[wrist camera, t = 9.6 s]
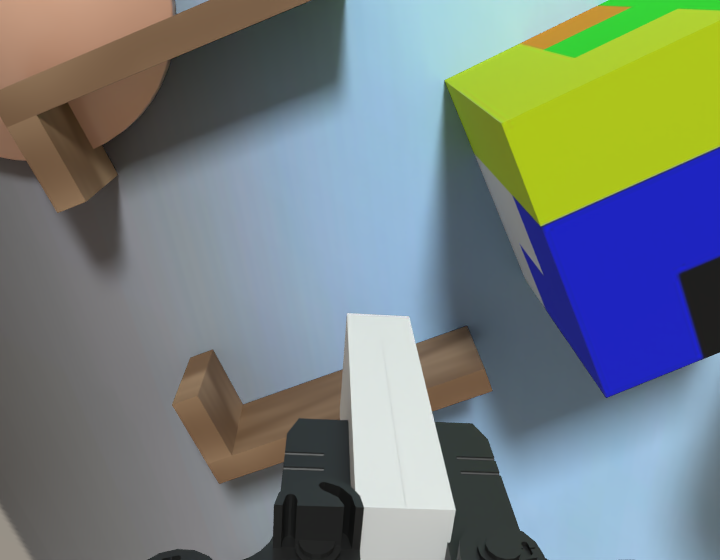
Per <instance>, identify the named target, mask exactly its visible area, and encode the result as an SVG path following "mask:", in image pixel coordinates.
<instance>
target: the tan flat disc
mask: <svg viewBox="0 0 720 560" xmlns="http://www.w3.org/2000/svg"><path fill="white" fill-rule="evenodd" d="M174 15H176V5H175V0H0V89H3V88H5V87H7V86H10V85H12V84H14V83H17V82H19V81H21V80H24V79H26V78H28V77H31V76H33V75H35V74H38V73H40V72H43V71H45V70H47V69H50V68H52V67H54V66H57V65H59V64H61V63H64V62H66V61H68V60H71V59H73V58H75V57H78V56H80V55H82V54H85V53H87V52H89V51H92V50H94V49H96V48H99V47H101V46H104V45H106V44H108V43H111V42H113V41H115V40H118V39H120V38H122V37H125V36H127V35H129V34H132V33H134V32H136V31H139V30H141V29H143V28H146V27H148V26H150V25H153V24H155V23H157V22H160V21H162V20H165V19H167V18H169V17H172V16H174ZM170 60H171V59H170ZM170 60H168V61H165V62H163V63H160V64H158V65H156V66H153V67H151V68H149V69H146V70H144V71H141V72H139V73H137V74H134V75H132V76H129V77H127V78H125V79H122V80H120V81H117V82H115V83H113V84H110V85H108V86H106V87H103V88H101V89H98V90H96V91H94V92H91V93H89V94H86V95H84V96H82V97H79V98H77V99H74V100H72V101H70V102H68V104H69V106H70V108H71V109H72V111H73V113H74V115H75V117H76V119H77V120H78V122H79V124H80V126H81V128H82V129H83V131H84V133H85V135H86V137H87V139H88V140H89V142H90V144H91V146H92V148H93V149H95V148H97V147H99V146H101V145H103V144H105V143H107V142H108V141H110V140H111V139H113V138H114V137H116V136H117V135H118V134H120V133H121V132H123V131H124V130H126V129H127V128H128V127H129V126H130V125H132V124H133V123H134V122H135V121H136V120H137V119H138V118H139V117H140V116H141V115H142V114H143V112H144V111H145V110H146V109H147V107H148V106H149V105H150V104H151V102H152V101H153V99H154V97H155V96H156V94H157V92H158V91H159V89H160V87H161V85H162V83H163V80H164V78H165V75H166V73H167V70H168V68H169V64H170ZM0 157H2V158H7V159H12V160H23V161H26V159H25V158H24V156H23V154H22V153H21V151H20V149H19V147H18V146H17V144H16V142H15V141H14V139H13V137H12V136H11V134H10V132H9V131H8V129H7V127H6V126H5V124H4V122H3V121H2V119H1V117H0Z"/></svg>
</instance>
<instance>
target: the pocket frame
mask: <svg viewBox="0 0 720 560" xmlns="http://www.w3.org/2000/svg"><path fill="white" fill-rule="evenodd" d="M309 1H311V0H209V1H207V2H204V3H202V4H200V5H197V6H195V7H193V8H190V9H188V10H186V11H183V12H181V13H179V14H176V15H174V16H172V17H169V18H167V19H165V20H162V21H160V22H157V23H155V24H153V25H150V26H148V27H146V28H143V29H141V30H139V31H136V32H134V33H132V34H129V35H127V36H125V37H122V38H120V39H118V40H115V41H113V42H111V43H108V44H106V45H104V46H101V47H99V48H96V49H94V50H92V51H89V52H87V53H85V54H82V55H80V56H78V57H75V58H73V59H71V60H68V61H66V62H64V63H61V64H59V65H57V66H54V67H52V68H50V69H47V70H45V71H43V72H40V73H38V74H35V75H33V76H31V77H28V78H26V79H24V80H21V81H19V82H17V83H14V84H12V85H10V86H7V87H5V88H3V89H0V117H1V119H2V121H3V122H4V124H5V126H6V127H7V129H8V131H9V132H10V134H11V136H12V137H13V139H14V141H15V142H16V144H17V146H18V147H19V149H20V151H21V153H22V154H23V156H24V158H25V159H26V161H27V163H28V164H29V166H30V168H31V169H32V171H33V173H34V174H35V176H36V178H37V179H38V181H39V183H40V184H41V186H42V188H43V189H44V191H45V193H46V194H47V196H48V198H49V199H50V201H51V203H52V204H53V206H54V208H55V210H56V211H57V213H59V212H61V211H64V210H66V209H69V208H71V207H74V206H76V205H79V204H81V203H84V202H86V201H87V200H89V199H90V198H91V197H92V196H93V195H95V194H96V193H97V192H98V191H99V190H101V189H102V188H103V187H104V186H105V185H106V184H108V183H109V182H110V181H111V180H112V179H114V178H115V177H116V176H117V175H118V174H117V172H116V170H115V168H114V167H113V165H112V163H111V161H110V159H109V157H108V156H107V154H106V152H105V150H104V148H103V146H102V145H101V146H99V147H97V148H95V149H93V148H92V146H91V144H90V142H89V140H88V139H87V137H86V135H85V133H84V131H83V129H82V128H81V126H80V124H79V122H78V120H77V119H76V117H75V115H74V113H73V111H72V109H71V108H70V106H69V104H68V102H70V101H72V100H74V99H77V98H79V97H82V96H84V95H86V94H89V93H91V92H94V91H96V90H98V89H101V88H103V87H106V86H108V85H110V84H113V83H115V82H117V81H120V80H122V79H125V78H127V77H129V76H132V75H134V74H137V73H139V72H141V71H144V70H146V69H149V68H151V67H153V66H156V65H158V64H160V63H163V62H165V61H168V60H170V59H173V58H175V57H177V56H180V55H182V54H185V53H187V52H189V51H192V50H194V49H197V48H199V47H201V46H204V45H206V44H208V43H211V42H213V41H216V40H218V39H220V38H223V37H225V36H228V35H230V34H232V33H235V32H237V31H240V30H242V29H244V28H247V27H249V26H251V25H254V24H256V23H259V22H261V21H263V20H266V19H268V18H271V17H273V16H275V15H278V14H280V13H283V12H285V11H287V10H290V9H292V8H294V7H297V6H299V5H302V4H304V3H306V2H309ZM416 347H417V351H418V356H419V360H420V364H421V368H422V372H423V376H424V381H425V385H426V389H427V393H428V397H429V401H430V405H431V410H432V411H435V410H438V409H441V408H444V407H447V406H450V405H453V404H456V403H459V402H462V401H465V400H468V399H471V398H473V397H476V396H479V395H482V394H485V393H488V392H491V391H492V388H491V385H490V382H489V380H488V377H487V374H486V371H485V368H484V366H483V363H482V361H481V359H480V356H479V354H478V351H477V349H476V346H475V344H474V342H473V339H472V337H471V334H470V332H469V329H468V327H467V326H465V327H462V328H459V329H456V330H453V331H451V332H448V333H445V334H442V335H439V336H436V337H434V338H431V339H428V340H425V341H422V342H419V343H417V344H416ZM342 374H343V370H340V371H337V372H334V373H331V374H329V375H326V376H323V377H320V378H317V379H314V380H311V381H309V382H306V383H303V384H300V385H297V386H294V387H292V388H289V389H286V390H283V391H280V392H277V393H275V394H272V395H269V396H266V397H263V398H260V399H258V400H255V401H252V402H249V403H246V404H242V402H241V400H240V398H239V396H238V395H237V393H236V391H235V389H234V387H233V385H232V384H231V382H230V380H229V378H228V376H227V374H226V373H225V371H224V369H223V367H222V365H221V363H220V362H219V360H218V358H217V356H216V354H215V352H214V351H213V350H210V351H207V352H205V353H202V354H199V355H196V356H194V357H191V358H190V360H189V362H188V365H187V368H186V370H185V373H184V375H183V378H182V380H181V383H180V386H179V388H178V391H177V393H176V396H175V398H174V401H173V404H172V406H173V407H174V409H175V411H176V412H177V414H178V416H179V417H180V419H181V421H182V422H183V424H184V426H185V427H186V429H187V431H188V432H189V434H190V436H191V437H192V439H193V441H194V443H195V444H196V446H197V448H198V449H199V451H200V453H201V454H202V456H203V458H204V459H205V461H206V463H207V464H208V466H209V468H210V469H211V471H212V473H213V474H214V476H215V478H216V479H217V481H218V483H219V484H220V483H223V482H226V481H229V480H232V479H235V478H238V477H241V476H244V475H247V474H250V473H253V472H256V471H259V470H261V469H264V468H267V467H270V466H273V465H276V464H279V463H282V462H284V456H285V447H286V437H287V433H288V431H289V430H290V429H291V428H292V426H293V425H294V424H295V423H296V421H297V420H298V419H299V418H305V419H330V420H340V401H341V388H342Z"/></svg>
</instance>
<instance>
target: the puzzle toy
mask: <svg viewBox="0 0 720 560" xmlns="http://www.w3.org/2000/svg"><path fill="white" fill-rule="evenodd" d="M444 81H445V83H446V86H447V88H448V91H449V93H450V96H451V98H452V100H453V103H454V105H455V108H456V110H457V113H458V115H459V118H460V120H461V123H462V125H463V127H464V130H465V132H466V135H467V137H468V140H469V142H470V145H471V147H472V150H473V152H474V155H475V157H476V159H477V162H478V164H479V167H480V169H481V172H482V174H483V177H484V179H485V182H486V184H487V187H488V189H489V191H490V194H491V196H492V199H493V201H494V204H495V206H496V209H497V211H498V214H499V216H500V219H501V221H502V223H503V226H504V228H505V231H506V233H507V236H508V238H509V241H510V243H511V246H512V248H513V251H514V253H515V255H516V258H517V260H518V263H519V265H520V268H521V270H522V273H523V275H524V278H525V280H526V281H527V283H528V284H529V286H530V287H531V289H532V290H533V292H534V293H535V295H536V296H537V297H538V299H539V300H540V302H541V303H542V305H543V306H544V308H545V309H546V311H547V312H548V314H549V315H550V316H551V318H552V319H553V321H554V322H555V324H556V325H557V327H558V328H559V330H560V331H561V333H562V334H563V336H564V337H565V338H566V340H567V341H568V343H569V344H570V346H571V347H572V349H573V350H574V352H575V353H576V355H577V356H578V357H579V359H580V360H581V362H582V363H583V365H584V366H585V368H586V369H587V371H588V372H589V374H590V375H591V377H592V378H593V379H594V381H595V382H596V384H597V385H598V387H599V388H600V390H601V391H602V393H603V394H604V396H605V397H606V398H608V397H610V396H612V395H615V394H617V393H620V392H622V391H625V390H627V389H630V388H632V387H635V386H637V385H640V384H642V383H645V382H647V381H650V380H652V379H655V378H657V377H660V376H662V375H665V374H667V373H670V372H672V371H675V370H677V369H680V368H682V367H685V366H687V365H690V364H692V363H695V362H697V361H699V360H702V359H704V358H707V357H709V356H712V355H714V354H717V353H719V352H720V0H608V1H606V2H604V3H602V4H600V5H598V6H596V7H594V8H592V9H590V10H588V11H586V12H584V13H582V14H580V15H578V16H575V17H573V18H571V19H569V20H567V21H565V22H563V23H561V24H559V25H557V26H555V27H553V28H551V29H549V30H547V31H545V32H543V33H541V34H539V35H537V36H534V37H532V38H530V39H528V40H526V41H524V42H522V43H520V44H518V45H516V46H514V47H512V48H510V49H508V50H506V51H504V52H502V53H500V54H498V55H496V56H493V57H491V58H489V59H487V60H485V61H483V62H481V63H479V64H477V65H475V66H473V67H471V68H469V69H467V70H465V71H463V72H461V73H459V74H457V75H455V76H452V77H450V78H448V79H446V80H444Z"/></svg>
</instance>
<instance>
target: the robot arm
mask: <svg viewBox="0 0 720 560" xmlns="http://www.w3.org/2000/svg"><path fill="white" fill-rule="evenodd" d="M148 560H212V559H211V558H210V557H209V556H207V555H205V554H202V553H200V552H198V551H195V550H182V549H176V550H172V551H167V552H163V553H159V554H157V555H155V556H154V557H152V558H150V559H148ZM243 560H547V559H546V558H545V557H544V555H543V553H542V551H541V550H540V548H539V547H538V545H537V543H536V542H535V541H534V540H532V539H531V538H530V537H529V536H528V535H526V534H525V533H524V532H522V531H520V529H519V527H518V524H517V521H516V518H515V515H514V512H513V510H512V507H511V504H510V501H509V498H508V495H507V493H506V490H505V487H504V484H503V481H502V478H501V476H499V470H498V467H497V464H496V461H494V456H493V453H492V450H491V447H490V444H489V441H488V439H487V438H486V437H485V436H484V435H483V434H482V433H481V432H480V431H479V430H478V429H477V428H476V427H475V426H474V425H473V424H470V423H446V422H434V418H433V414H432V410H431V405H430V401H429V397H428V393H427V389H426V385H425V381H424V376H423V372H422V368H421V364H420V360H419V356H418V351H417V347H416V343H415V339H414V335H413V331H412V327H411V322H410V318H409V316H391V315H371V314H351V313H347V321H346V334H345V348H344V361H343V374H342V388H341V401H340V420H330V419H305V418H299V419H298V420H297V421H296V423H295V424H294V425H293V426H292V428H291V429H290V430H289V431H288V433H287V437H286V447H285V456H284V466H283V475H282V485H281V492H279V494H278V496H277V499H276V501H275V504H274V526H273V537H272V539H271V541H270V542H269V543H268V544H267V545H266V546H265V547H264V548H263V549H262V550H261V551H259V552H258V553H256V554H254V555H253V556H251V557H249V558H246V559H243Z"/></svg>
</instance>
